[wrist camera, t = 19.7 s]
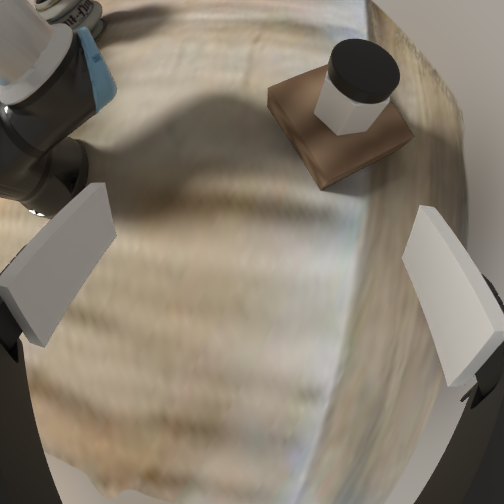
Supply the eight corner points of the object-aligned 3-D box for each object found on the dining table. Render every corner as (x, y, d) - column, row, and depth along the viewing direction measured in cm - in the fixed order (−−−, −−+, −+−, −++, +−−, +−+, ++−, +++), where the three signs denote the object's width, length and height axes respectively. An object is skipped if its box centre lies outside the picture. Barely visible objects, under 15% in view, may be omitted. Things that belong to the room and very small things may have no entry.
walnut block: (267, 106, 45) (267, 88, 39) (346, 74, 45) (355, 55, 39) (320, 190, 45) (328, 180, 39) (399, 149, 44) (414, 136, 38)
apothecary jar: (60, 61, 47) (18, 20, 29) (72, 26, 48) (38, -16, 30) (105, 45, 47) (67, -6, 29) (115, 10, 47) (85, -39, 29)
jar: (382, 117, 38) (415, 76, 27) (347, 148, 39) (376, 109, 27) (338, 76, 39) (357, 26, 27) (301, 104, 39) (312, 54, 27)
